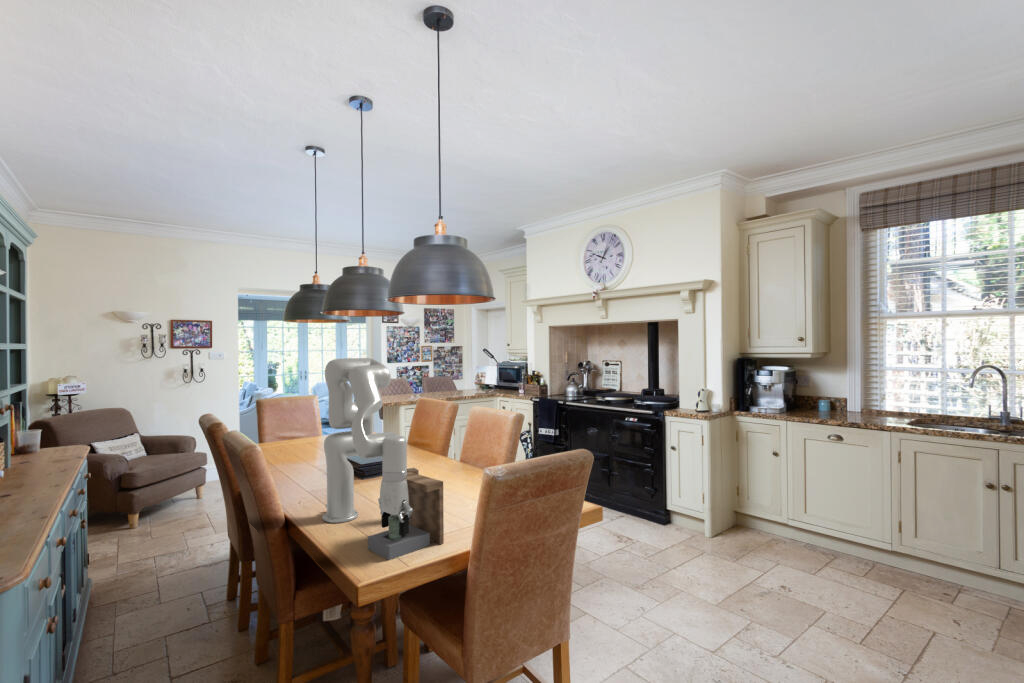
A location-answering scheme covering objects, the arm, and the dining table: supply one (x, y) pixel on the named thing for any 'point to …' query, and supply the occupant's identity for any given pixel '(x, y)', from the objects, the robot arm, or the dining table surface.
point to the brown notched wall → (426, 505)
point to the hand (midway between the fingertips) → (395, 530)
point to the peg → (394, 528)
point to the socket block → (398, 543)
